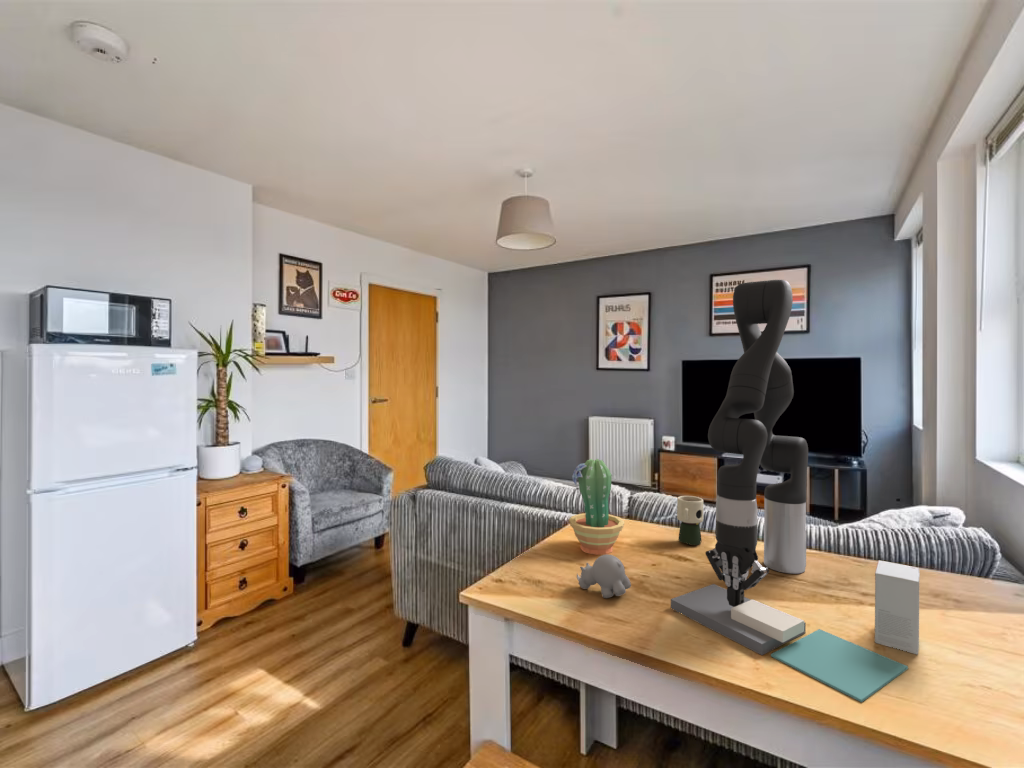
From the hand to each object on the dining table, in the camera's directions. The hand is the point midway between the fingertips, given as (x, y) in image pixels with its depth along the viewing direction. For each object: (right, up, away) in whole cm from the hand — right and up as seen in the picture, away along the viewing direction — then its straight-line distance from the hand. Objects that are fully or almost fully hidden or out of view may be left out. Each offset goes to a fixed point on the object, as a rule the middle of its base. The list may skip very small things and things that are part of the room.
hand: (735, 605), depth 98 cm
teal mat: (+11, -3, -14) cm, 18 cm away
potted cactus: (-21, -2, +40) cm, 45 cm away
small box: (+27, -4, -7) cm, 28 cm away
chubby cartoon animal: (-24, -3, +13) cm, 28 cm away
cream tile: (+3, 0, -5) cm, 6 cm away
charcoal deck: (0, -3, 0) cm, 3 cm away
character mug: (+7, -2, +45) cm, 45 cm away
